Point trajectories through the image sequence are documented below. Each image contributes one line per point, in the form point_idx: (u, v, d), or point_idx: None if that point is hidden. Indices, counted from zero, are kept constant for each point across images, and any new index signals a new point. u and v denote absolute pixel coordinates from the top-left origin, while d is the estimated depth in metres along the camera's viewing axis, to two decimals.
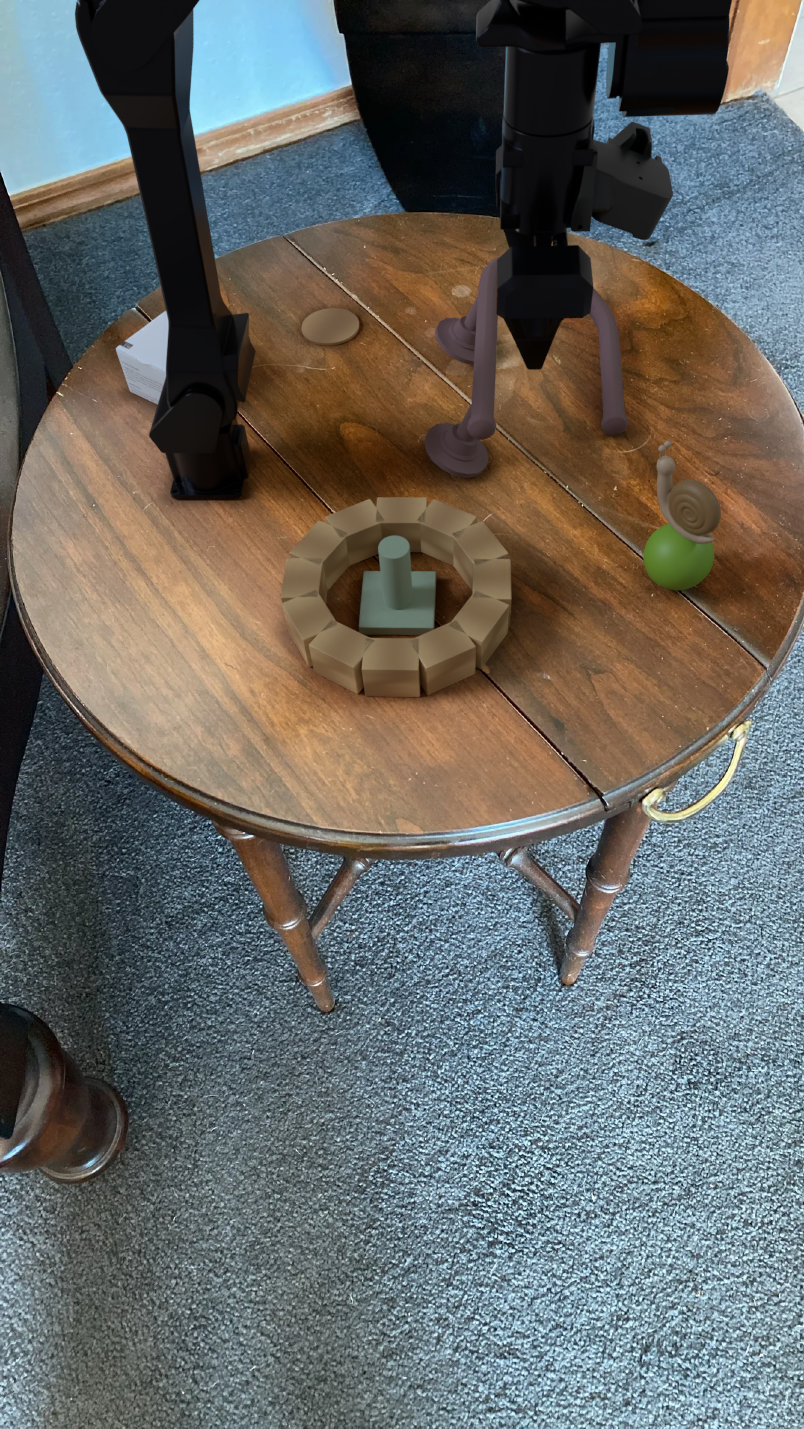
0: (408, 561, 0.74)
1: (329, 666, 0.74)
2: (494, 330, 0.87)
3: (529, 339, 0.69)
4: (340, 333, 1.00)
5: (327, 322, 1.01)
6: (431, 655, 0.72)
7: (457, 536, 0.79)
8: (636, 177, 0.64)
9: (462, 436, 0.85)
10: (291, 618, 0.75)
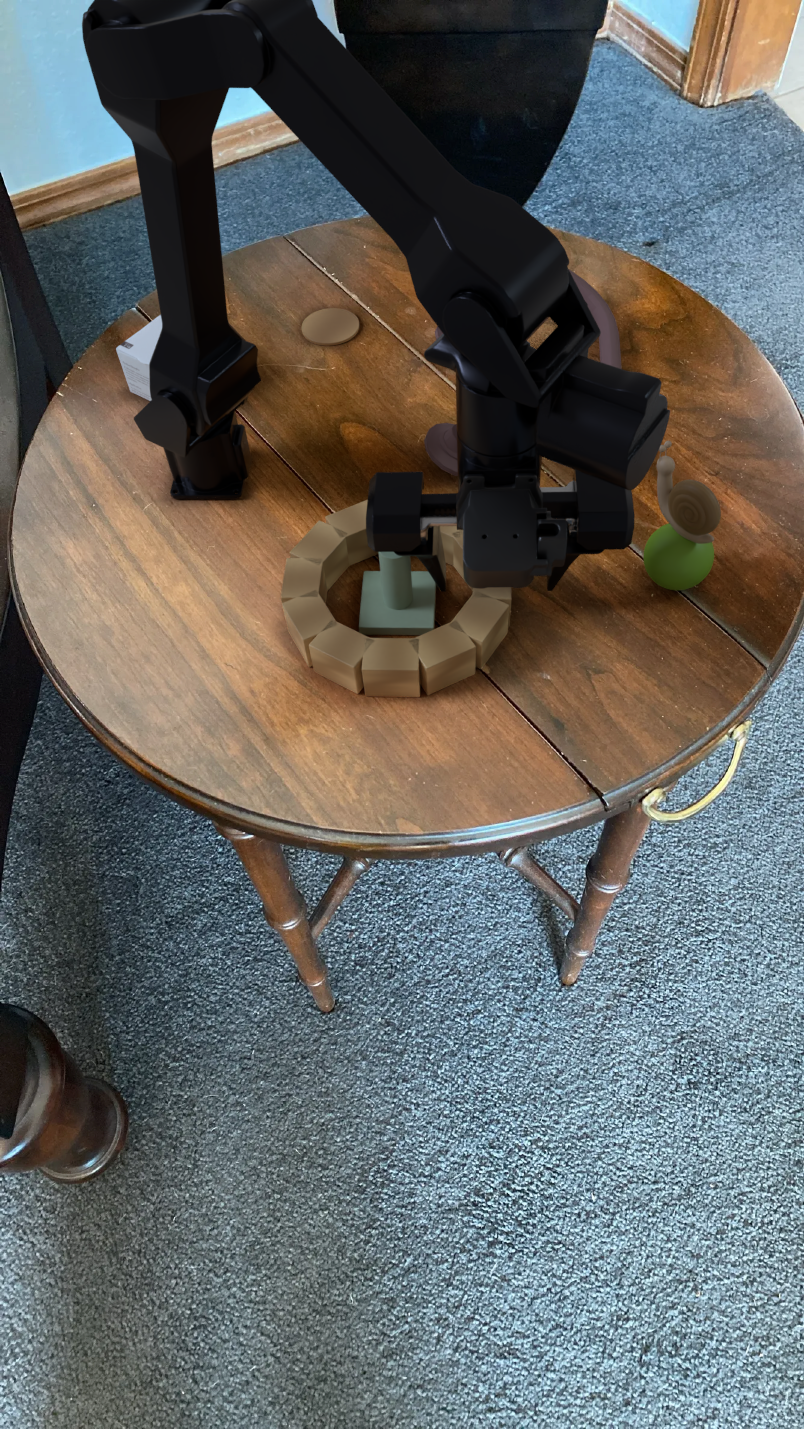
0: (408, 561, 0.74)
1: (329, 666, 0.74)
2: None
3: None
4: (340, 333, 1.00)
5: (327, 322, 1.01)
6: (431, 655, 0.72)
7: (457, 536, 0.79)
8: (483, 532, 0.63)
9: None
10: (291, 618, 0.75)
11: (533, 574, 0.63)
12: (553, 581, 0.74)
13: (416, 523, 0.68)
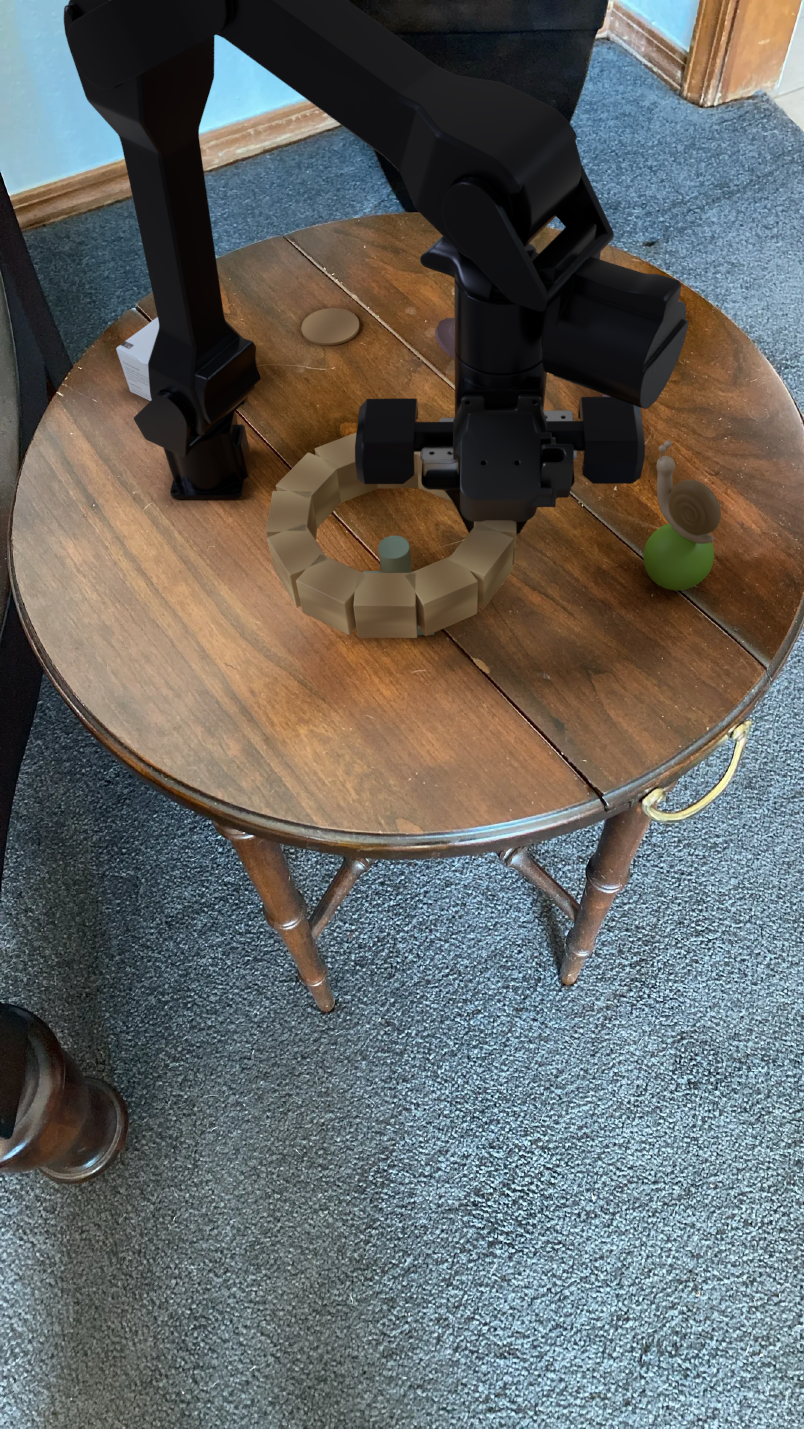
0: (408, 561, 0.74)
1: (319, 604, 0.68)
2: None
3: None
4: (340, 333, 1.00)
5: (327, 322, 1.01)
6: (429, 590, 0.66)
7: None
8: (482, 458, 0.58)
9: None
10: (277, 553, 0.69)
11: (536, 504, 0.58)
12: (520, 522, 0.70)
13: (409, 452, 0.63)
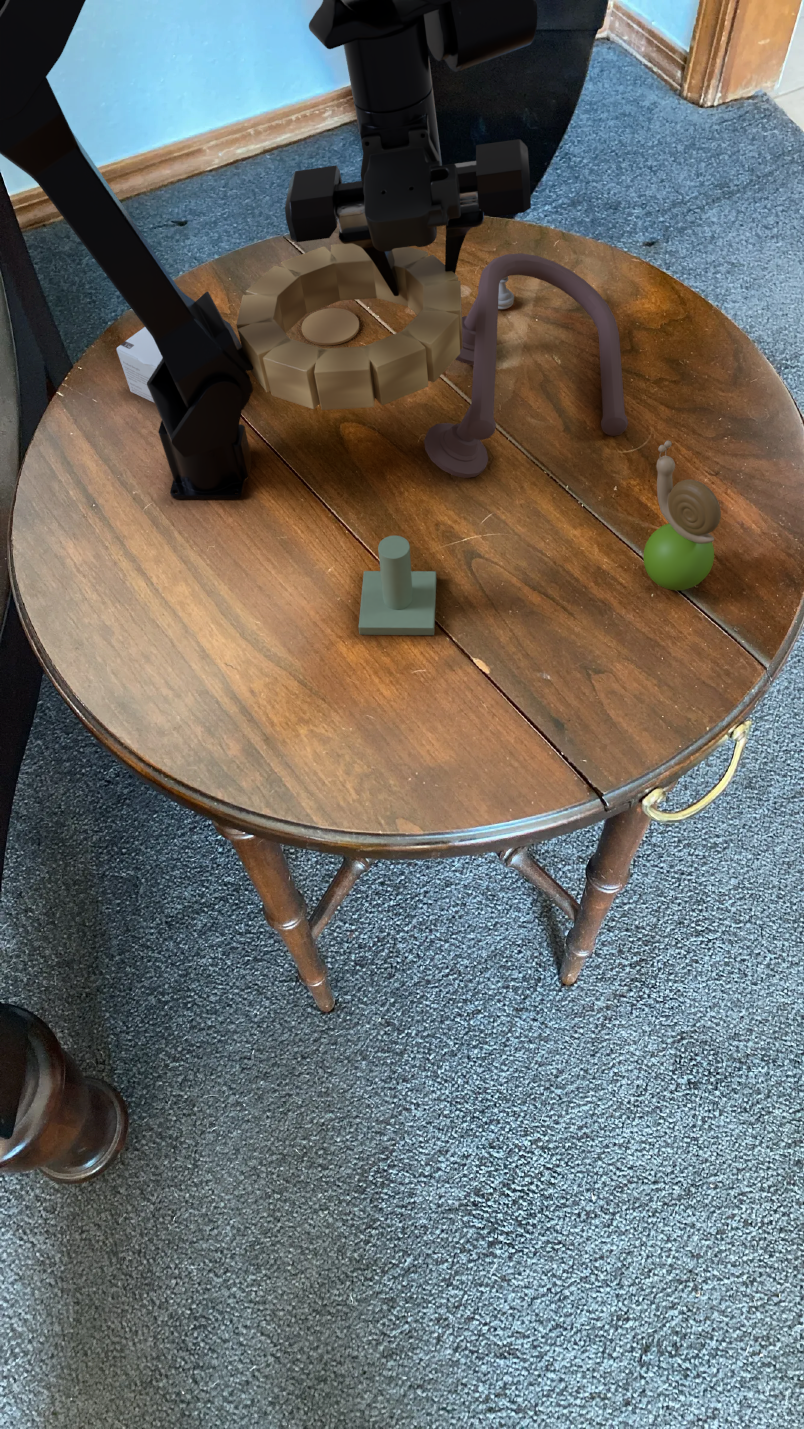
0: (408, 561, 0.74)
1: (340, 386, 0.74)
2: (494, 330, 0.87)
3: None
4: (340, 333, 1.00)
5: (327, 322, 1.01)
6: (427, 334, 0.75)
7: None
8: (382, 188, 0.69)
9: (462, 436, 0.85)
10: (281, 363, 0.74)
11: (430, 223, 0.69)
12: None
13: (329, 204, 0.73)
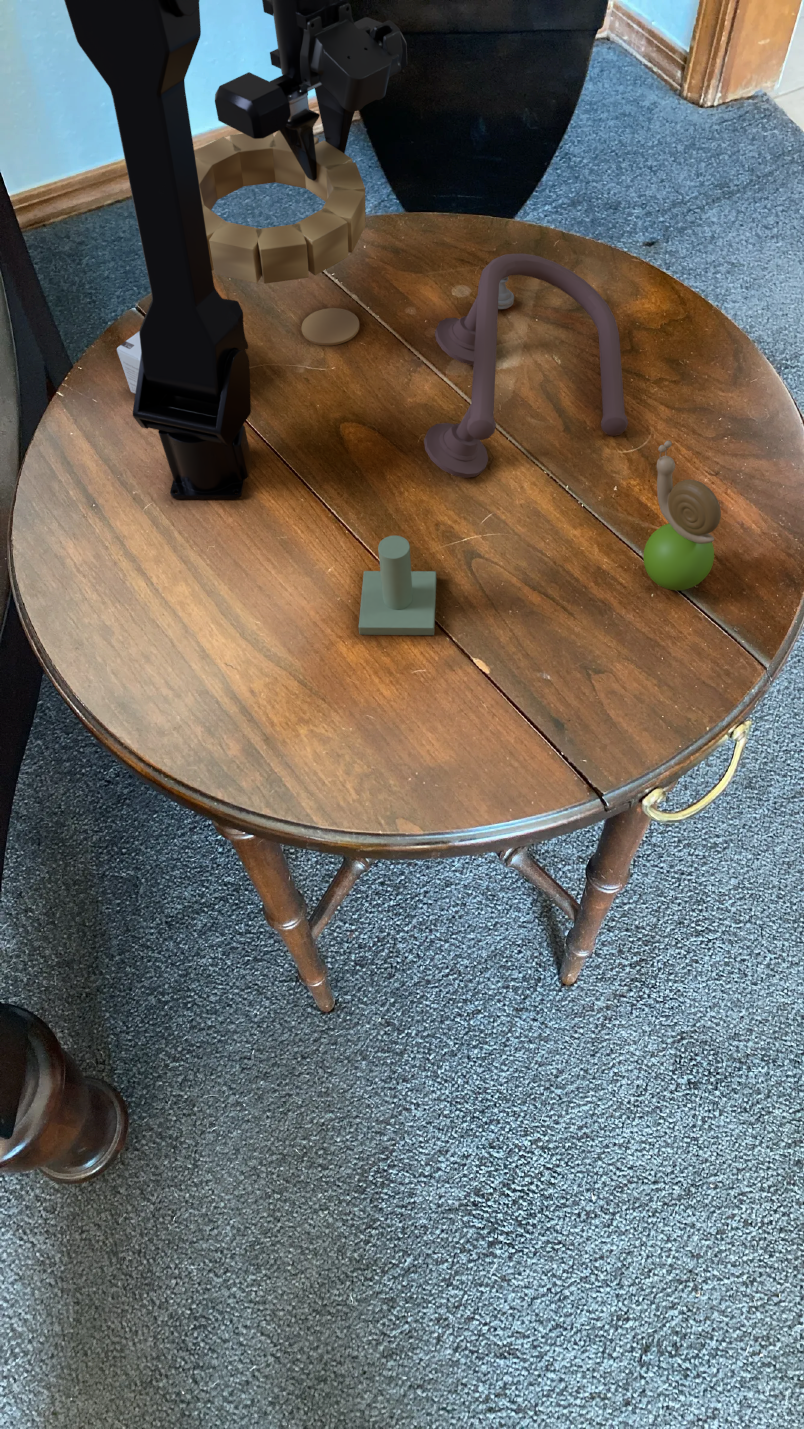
0: (408, 561, 0.74)
1: (281, 261, 0.87)
2: (494, 330, 0.87)
3: (294, 146, 0.91)
4: (340, 333, 1.00)
5: (327, 322, 1.01)
6: (344, 210, 0.89)
7: (274, 145, 0.94)
8: (345, 55, 0.82)
9: (462, 436, 0.85)
10: (227, 243, 0.86)
11: (391, 72, 0.84)
12: (342, 150, 0.94)
13: (282, 94, 0.84)
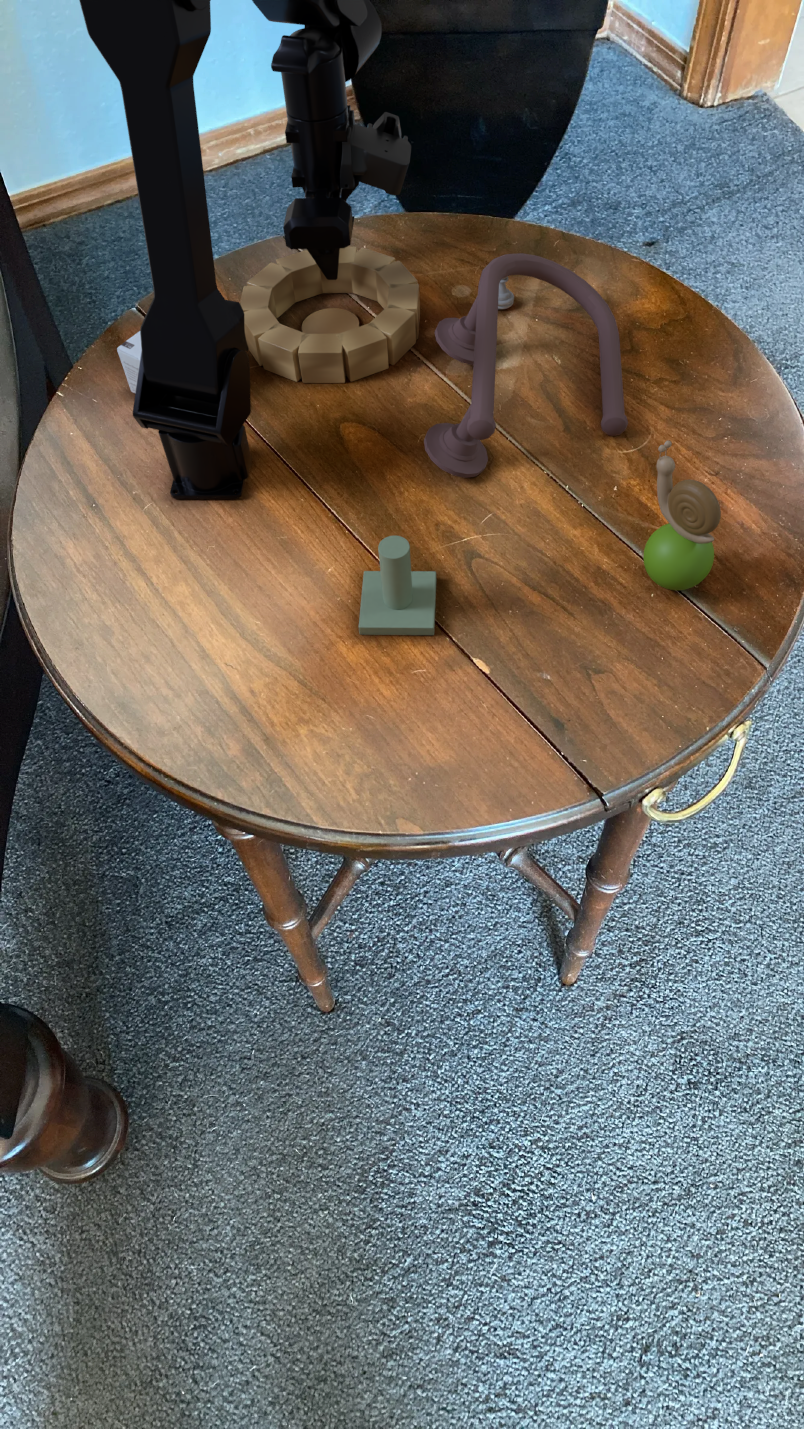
0: (408, 561, 0.74)
1: (402, 337, 0.96)
2: (494, 330, 0.87)
3: (322, 255, 0.98)
4: None
5: (327, 322, 1.01)
6: (406, 278, 0.99)
7: (290, 270, 1.01)
8: (382, 150, 0.92)
9: (462, 436, 0.85)
10: (364, 345, 0.93)
11: None
12: None
13: (345, 203, 0.92)
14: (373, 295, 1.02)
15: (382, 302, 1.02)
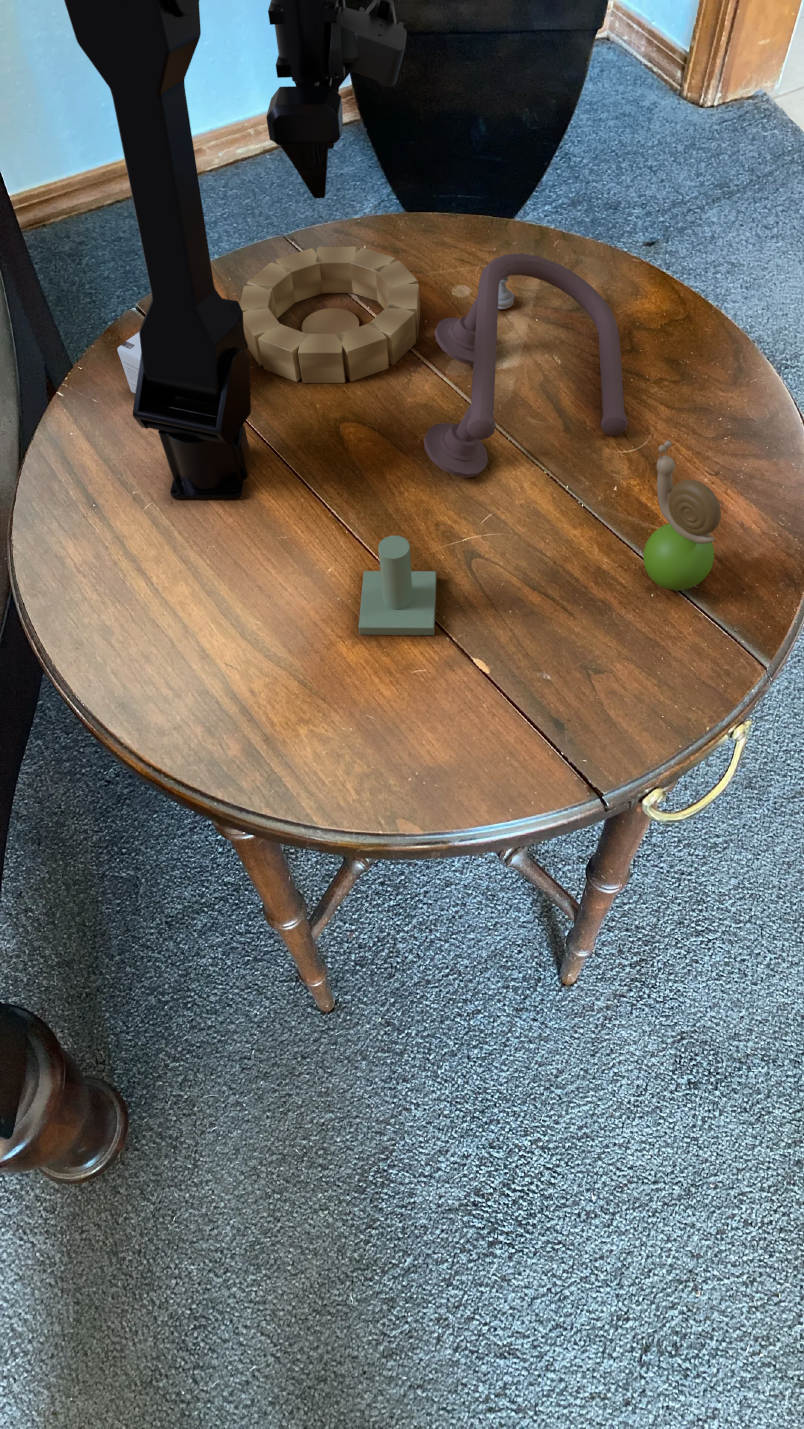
0: (408, 561, 0.74)
1: (402, 337, 0.96)
2: (494, 330, 0.87)
3: (307, 168, 0.89)
4: None
5: (327, 322, 1.01)
6: (406, 278, 0.99)
7: (290, 270, 1.01)
8: (375, 34, 0.84)
9: (462, 436, 0.85)
10: (364, 345, 0.93)
11: None
12: None
13: (335, 92, 0.84)
14: (373, 295, 1.02)
15: (382, 302, 1.02)
